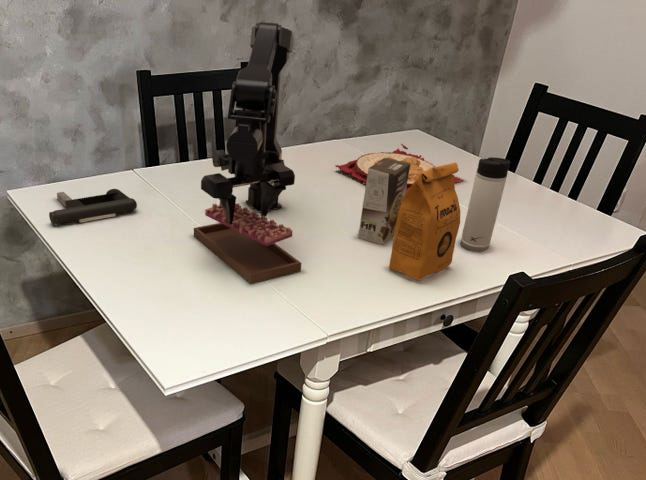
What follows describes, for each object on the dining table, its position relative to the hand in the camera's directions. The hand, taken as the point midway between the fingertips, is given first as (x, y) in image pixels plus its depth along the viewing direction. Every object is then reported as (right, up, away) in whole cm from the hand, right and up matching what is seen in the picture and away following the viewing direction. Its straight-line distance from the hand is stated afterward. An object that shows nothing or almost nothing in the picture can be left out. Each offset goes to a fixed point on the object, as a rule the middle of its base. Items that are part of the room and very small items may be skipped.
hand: (246, 220), depth 152 cm
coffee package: (+36, -10, +2) cm, 37 cm away
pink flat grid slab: (0, -1, +1) cm, 1 cm away
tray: (0, -6, +4) cm, 7 cm away
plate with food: (+40, +20, +47) cm, 65 cm away
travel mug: (+50, -4, +13) cm, 52 cm away
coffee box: (+30, -1, +15) cm, 33 cm away
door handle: (-37, +6, +19) cm, 42 cm away
